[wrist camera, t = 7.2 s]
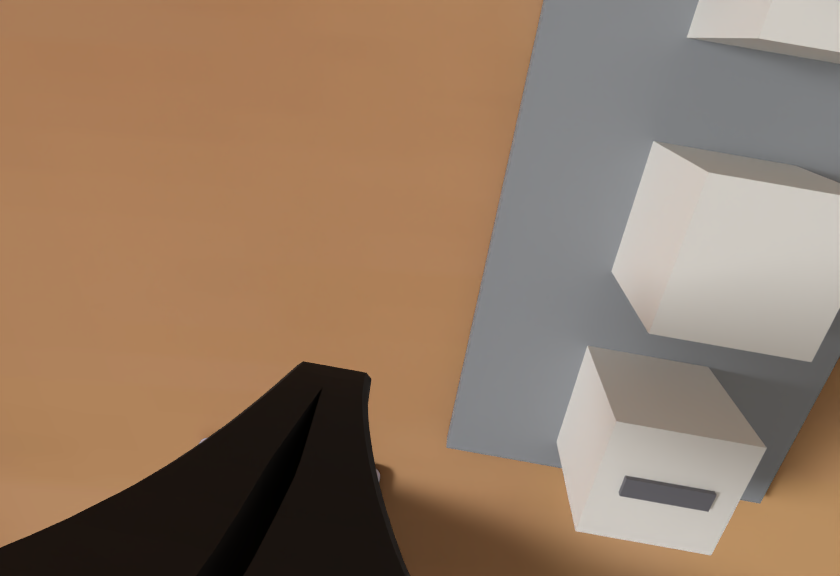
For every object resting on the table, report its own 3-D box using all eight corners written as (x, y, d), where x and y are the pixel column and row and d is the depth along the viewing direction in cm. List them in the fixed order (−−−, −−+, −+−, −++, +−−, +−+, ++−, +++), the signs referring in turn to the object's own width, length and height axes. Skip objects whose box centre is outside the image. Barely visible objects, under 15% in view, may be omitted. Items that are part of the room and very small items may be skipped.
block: (671, 462, 23) (717, 560, 18) (556, 441, 23) (576, 534, 18) (712, 367, 21) (774, 452, 17) (587, 345, 21) (617, 424, 17)
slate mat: (753, 492, 24) (760, 503, 23) (446, 438, 24) (446, 447, 23) (1090, -146, 15) (1114, -153, 14) (594, -229, 15) (598, -239, 14)
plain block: (740, 294, 20) (811, 362, 16) (611, 271, 20) (648, 333, 16) (795, 165, 18) (892, 204, 14) (653, 140, 18) (708, 172, 14)
